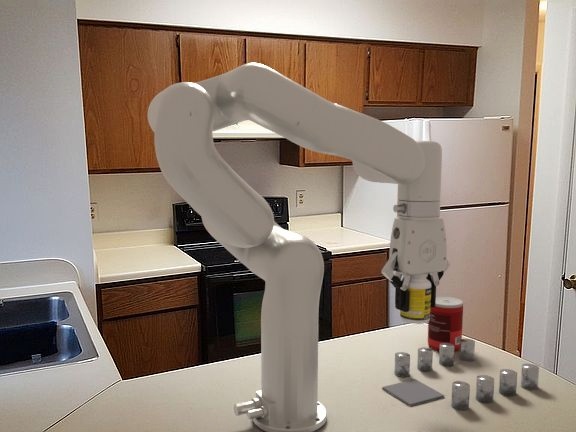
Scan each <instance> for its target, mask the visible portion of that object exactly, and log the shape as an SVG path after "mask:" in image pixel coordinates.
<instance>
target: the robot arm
mask: <svg viewBox="0 0 576 432" xmlns="http://www.w3.org/2000/svg"><path fill="white" fill-rule="evenodd" d="M246 121H250V122H252V123H255V124H256V125H258V126H260V127H262V128H264V129H267V130H269V131H271V132H272V133H275V134H277V135H278V136H281V137H282V138H283V139H286V140H288V141H290V142H291V143H294V144H296V145H298V146H299V147H301V148H304V149H306V150H310V151H312V152H315V153H319V154H323V155H330V156H331V155H332V156H335V157H340V158H344V159H348V160H350V161H352V167H353V170H354V172H355V173H356V175H358V177H360V178H362V180H365V181H368V182H371V183H380V184H393V185H394V184H395V185H397V196H396V197H397V199H396V201H397V203H396V204H395V205H393V206H392V207H393V208H392V210H393V212H394V213H396V217H394V220H393V224H392V228H391V235H390V242H389V252H388V253H389V254H388V255H389V256H388V257H389V258H388V260H387V261H386V263H385V264H384V265H383V267H382V269H381V274H382V275H383V276H384V277H385V278H386V279H387V280H388V282H389V283H390V284H391V285H392V288H394V289H395V294H394V295H395V296H394V307H395V309H396V310H399V311H400V310H401V311H403V312H408V311H409V299H410V291H409V290H406V289H407V287H408V283H409V280H410V276H411V275H420V274H428V277H426V279H427V280H429V281H430V282H431V305H430V307H431V308H434V307H435V305H436V297H437V287H438V286H439V285H440V280H441V279H442V278H443V276H444V274H445V272H446V271H448V270H449V268H450V265H451V263H450V262H449V261H448V259H447V257H448V256H447V255H448V254H447V251H448V250H447V233H446V227H445V221H444V218H443V217H442V216H441V193H442V192H441V189H442V165H443V164H442V161H443V160H442V158H443V149H442V146H441V144H440V143H439V142H437V141H434V140H433V141H432V140H415V139H414V138H412V137H411V136H409V135H407V134H406V133H405V132H403V131H400V129H397V128H396V127H394V126H392V125H390V124H388V123H387V122H384V121H382V120H380V119H377V118H375V117H373V116H370V115H367V114H365V113H362V112H359V111H357V110H354V109H352V108H349V107H346V106H343V105H341V104H338V103H335V102H332V101H330V100H328V99H326V98H324V97H322V96H321V95H319V94H318V93H315V92H313V91H311V90H310V89H308V88H306V87H305V86H303V85H301V84H299V83H297V82H296V81H294V80H292V79H290V78H289V77H287V76H285V75H283V74H282V73H280V72H278V71H276V70H275V69H272V68H271V67H269V66H267V65H264V64H262V63H257V62H248V63H247V62H246V63H244V64H242V65H240V66H237V67H235V68H234V69H231V70H229V71H227V72H224V73H222V74H220V75H216V76H213V77H210V78H207V79H204V80H203V79H202V80H201V81H196V82H189V81H182V82H177V83H174V84H171V85H169V86H167V87H165V88H164V89H163V90H162V91H160V92H159V93H158V94H156V95H155V96H154V97H153V99H152V100H151V101H150V104H149V105H148V109H147V122H148V124H149V127H150V129H151V130H152V132H153V133H154V137H153V138H154V140H153V141H154V150H155V156H156V160H157V163H158V166H159V168H160V171H161V173H162V175H163V178H165V180H166V182H167V183H168V184H169V185H170V187H171V188H172V189H173V190H174V191H175V192H176V193H177V194H178V195H179V196H180V197H181V198H182V199H183V200H184V202H186V203H187V204H188V205H189V206H190V207H191V208H192V209H193V211H195V212H196V213H197V214H198V215H199V216H201V217H200V218H201V221H202V224H203V226H204V228H205V230H206V231H207V232H208V233H209V234H210V236H211V237H212V238H213V239H215V241H217V242H218V243H219V244H220V245H221V246H222V247H224V249H226V251H227V252H229V253H230V254H231V255H232V256H234V257H235V258H236V260H238V261H239V262H240V263H241V264H242V265H243V266H245V267H246V268H247V269H248V270H250V272H251V273H253V274H254V275H255V276H257V277H258V278H260V279H262V280H263V281H264V282H265V285H264V293H263V297H262V303H261V312H260V313H261V314H260V331H261V333H260V337H261V338H260V343H261V344H260V345H261V346H260V347H261V349H260V352H261V353H260V354H261V356H260V358H261V359H260V361H261V364H260V365H261V366H260V369H261V370H260V371H261V374H260V377H261V378H260V379H261V381H260V383H261V384H260V385H261V389H260V390H256V391H255V397H252V398H251V399H250V401H242V402H237V403H234V404H233V413H234V415H235V416H237V417H238V416H243V415H246V416H247V417H246V418H247V419H248V420H252V421H253V423H254V425H255V426H256V427H258V428H259V429H261V430H262V431H265V432H315V431H317V430H319V429H320V428H322V427H323V426H324V425H325V424H326V422H327V419H328V418H327V417H328V416H327V415H328V413H327V412H328V411H327V408H326V407H325V406H324V405H323V403H321V402H320V401H318V399H319V398H318V397H319V394H318V393H319V392H318V391H319V390H318V389H319V387H318V385H319V383H318V382H319V371H318V370H319V308H320V299H321V298H320V297H321V291H322V286H323V279H324V273H325V263H324V262H325V261H324V258H323V254H322V252H321V250H320V248H319V247H318V245H317V244H316V243H315V242H314V241H313V240H311V239H310V238H309V237H307V236H306V235H303V234H300V233H298V232H295V231H292V230H288V229H284V228H283V227H281V226H280V225H279V224H278V223H277V221H275V218H274V217H275V216H274V212H273V210H272V208H271V206H270V204H269V202H267V200H266V199H265V198H264V197H263V196H262V195H261V194H260V193H259V192H257V191H256V189H254V188H253V187H251V186H250V184H248V183H247V181H246V180H244V179H243V178H242V177H241V176H240V175H239V174H238V173H237V172H236V171H235V170H234V169H233V168H232V167H231V166H230V165H229V164H228V163H227V161H225V159H224V158H223V157H222V156H221V154H220V153H219V152H218V150H217V148H216V146H215V143H214V137H213V132H215V131H219V130H222V129H226V128H228V127H231V126H233V125H236V124H239V123H242V122H246Z"/></svg>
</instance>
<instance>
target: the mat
mask: <svg viewBox="0 0 576 432" xmlns="http://www.w3.org/2000/svg"><path fill="white" fill-rule="evenodd" d="M381 389H382V390H383V391H385V392H387V394H390V395H391V396H392V397H394V398H396V399H398V400H399V401H401V402H403V403H404V404H406V406H408V407H412V406H416V405H421V404H423V403H427V402H432V401H435V400H439V399H442V398H445V395H444V394H443V393H441V392H439V391H437V390H436V389H434V388H432V387H430V386H428V385H426V384H425V383H423V382H421V381H419V380H418V379H416V378H414V379H410V380H405V381H401V382H397V383H393V384H389V385H386V386H382V387H381Z"/></svg>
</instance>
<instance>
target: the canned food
mask: <svg viewBox="0 0 576 432" xmlns="http://www.w3.org/2000/svg"><path fill="white" fill-rule="evenodd" d="M463 316H464V301H463V300H462V299H459V298H457V297H453V296H444V295H443V296H436V305H435V307H434V308H431V307H430V320H429V322H427V345H428V348H430V349H432V350H434V351H437V352H439V351H440V344H441V343H450V344H453V345H454V353H455V352H458V351H460V340H461V339H463V320H464V317H463Z"/></svg>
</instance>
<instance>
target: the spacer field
mask: <svg viewBox="0 0 576 432" xmlns="http://www.w3.org/2000/svg"><path fill="white" fill-rule="evenodd" d="M475 346H476V341H475V340H473V339H470V338H462V339H461V340H460V349H459V359H460V360H461V361H465V362H473V361H475V348H476V347H475ZM433 350H434V349H432V348H430V347H418V348H417V365H416V366H417V367H416V368H417V369H418V370H419V371H422V372H431V371H432V370H433V355H434V354H433V353H434V352H433ZM438 352H439V354H438V355H439V357H438V363H439V365H441V366H445V367H452V366H454V365H455V364H454V363H455V361H454V360H455V352H454V345H453V344H450V343H441V344H440V351H438ZM410 365H411V354H410V353H408V352H403V351H398V352H395V353H394V375H395V376H398V377H402V378H403V377H409V376H410V372H411V371H410V370H411V369H410V368H411V366H410ZM539 374H540V367H539V366H538V365H537V364H533V363H522V364H521V376H520V387H521V388H523V389H526V390H529V391H535V390H538V389H539V376H540V375H539ZM475 384H476V386H475V399H476V401H478V402H480V403H483V404H491V403H493V402H494V391H495V378H494V377H493V376H490V375H488V374H487V375H485V374H480V375H479V374H478V375H477V376H476V383H475ZM517 385H518V371H515V370H513V369H507V368H503V369H500V370H499V384H498V386H499V387H498V392H499V394H500V395H502V396H505V397H515V396H516V395H517V389H518V388H517ZM470 392H471V385H470V383H468V382H466V381H463V380H456V381H453V382H452V384H451V402H450V403H451V404H450V405H451V407H452V409H453V408H454V409H455V410H458V411H467V410H469V409H470Z"/></svg>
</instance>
